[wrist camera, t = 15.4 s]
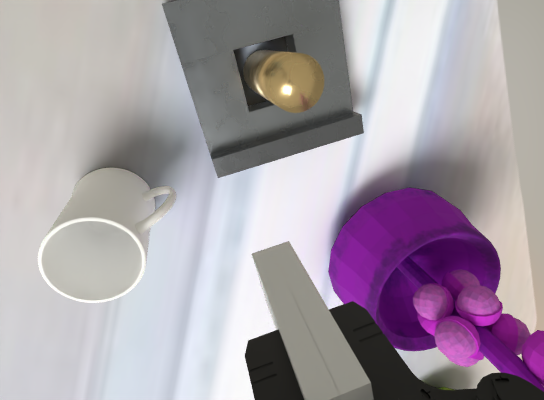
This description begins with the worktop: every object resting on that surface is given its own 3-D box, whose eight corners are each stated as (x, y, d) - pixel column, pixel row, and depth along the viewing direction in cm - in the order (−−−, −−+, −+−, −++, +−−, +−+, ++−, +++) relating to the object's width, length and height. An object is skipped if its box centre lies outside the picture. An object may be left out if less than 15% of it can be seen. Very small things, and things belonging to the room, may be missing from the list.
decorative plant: (391, 149, 46) (689, 297, 20) (463, 226, 54) (745, 407, 28) (291, 256, 49) (433, 516, 22) (373, 315, 57) (551, 558, 30)
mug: (159, 141, 39) (154, 179, 28) (194, 207, 43) (201, 262, 32) (54, 187, 38) (8, 244, 28) (99, 250, 42) (74, 321, 31)
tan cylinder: (238, 55, 38) (263, 61, 27) (278, 44, 38) (319, 46, 28) (249, 98, 40) (276, 119, 29) (287, 87, 40) (328, 104, 29)
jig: (162, 6, 34) (161, 1, 30) (321, -33, 36) (342, -43, 32) (213, 163, 41) (218, 178, 37) (344, 123, 43) (363, 133, 39)
